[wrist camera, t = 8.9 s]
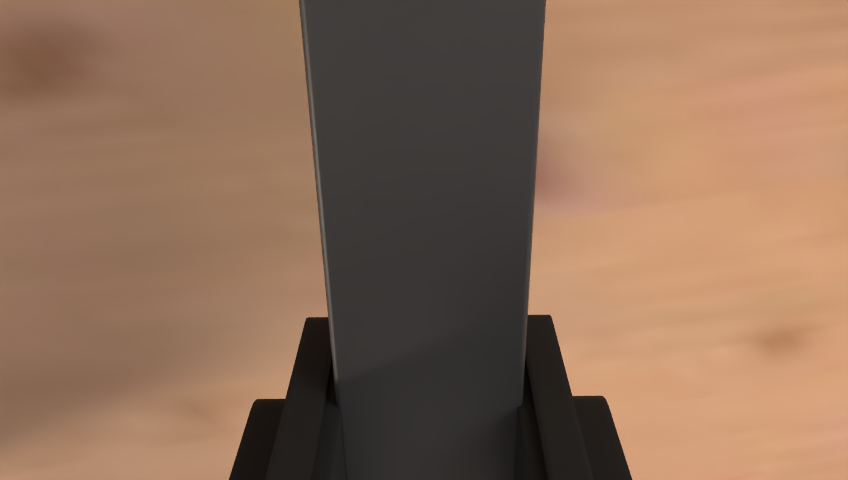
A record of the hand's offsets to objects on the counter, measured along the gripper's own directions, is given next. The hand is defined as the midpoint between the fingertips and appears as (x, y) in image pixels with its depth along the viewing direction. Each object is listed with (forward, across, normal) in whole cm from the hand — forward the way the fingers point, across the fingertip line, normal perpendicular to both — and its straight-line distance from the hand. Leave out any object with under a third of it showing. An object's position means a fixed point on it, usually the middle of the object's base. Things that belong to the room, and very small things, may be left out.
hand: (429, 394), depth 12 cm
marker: (0, 0, 0) cm, 0 cm away
